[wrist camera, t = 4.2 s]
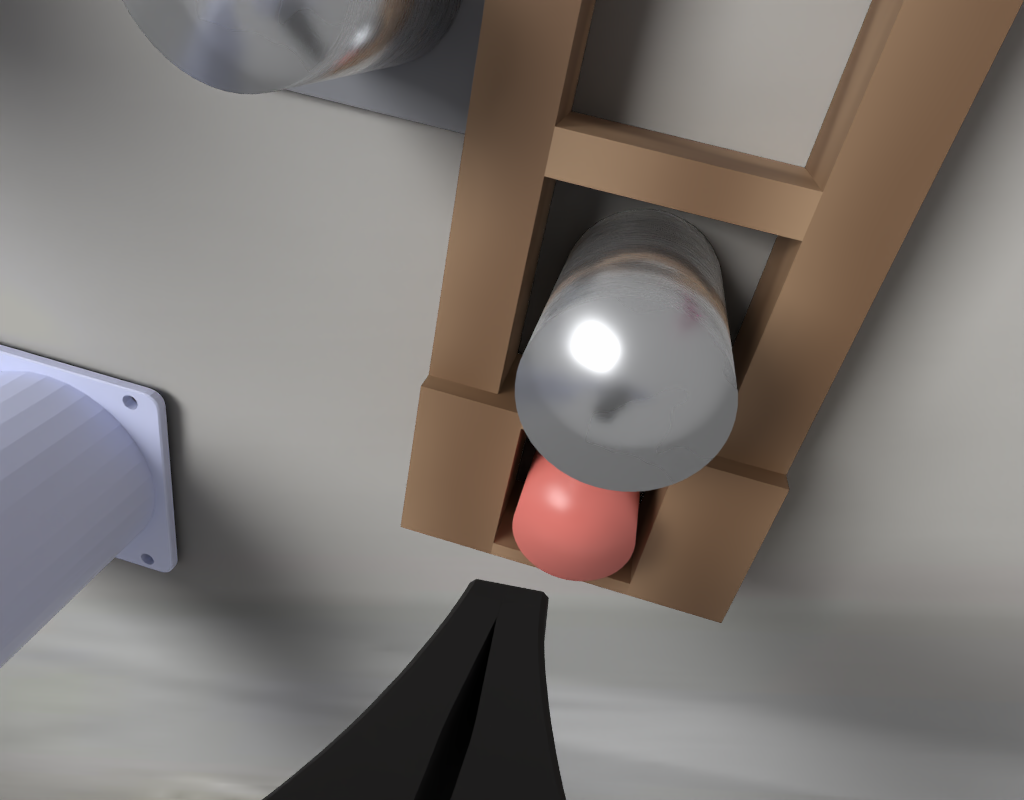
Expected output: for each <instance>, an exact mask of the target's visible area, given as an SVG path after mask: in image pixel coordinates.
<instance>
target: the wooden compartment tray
mask: <svg viewBox="0 0 1024 800" xmlns="http://www.w3.org/2000/svg"><path fill="white" fill-rule="evenodd" d="M1023 1H1024V0H872V2H871V5H870V7H869V9H868V12H867V14H866V17H865V19H864V22H863V24H862V27H861V29H860V32H859V34H858V37H857V39H856V42H855V44H854V47H853V49H852V52H851V54H850V57H849V59H848V62H847V64H846V67H845V69H844V72H843V74H842V77H841V79H840V82H839V84H838V87H837V89H836V92H835V94H834V97H833V99H832V102H831V104H830V107H829V109H828V112H827V114H826V116H825V119H824V121H823V124H822V126H821V129H820V131H819V134H818V136H817V139H816V141H815V144H814V146H813V149H812V151H811V154H810V156H809V159H808V161H807V164H806V166H805V168H803V167H799V166H795V165H791V164H787V163H783V162H779V161H775V160H771V159H766V158H762V157H758V156H754V155H750V154H746V153H742V152H738V151H733V150H729V149H725V148H721V147H717V146H713V145H709V144H705V143H700V142H696V141H692V140H688V139H684V138H680V137H676V136H672V135H668V134H663V133H659V132H655V131H651V130H647V129H643V128H639V127H635V126H630V125H626V124H622V123H618V122H614V121H610V120H606V119H602V118H598V117H593V116H589V115H585V114H581V113H577V112H573V111H571V110H572V105H573V101H574V96H575V92H576V87H577V83H578V78H579V74H580V69H581V65H582V60H583V56H584V51H585V47H586V42H587V38H588V33H589V29H590V24H591V20H592V15H593V11H594V6H595V2H596V0H485V4H484V11H483V17H482V24H481V30H480V37H479V44H478V50H477V57H476V64H475V70H474V77H473V84H472V90H471V97H470V104H469V110H468V117H467V124H466V130H465V137H464V144H463V150H462V157H461V164H460V170H459V177H458V184H457V190H456V197H455V204H454V210H453V217H452V224H451V230H450V237H449V244H448V250H447V257H446V264H445V270H444V277H443V284H442V290H441V297H440V304H439V310H438V317H437V324H436V330H435V337H434V344H433V350H432V357H431V364H430V370H429V375H428V377H427V378H426V380H425V381H424V383H423V384H422V385H421V390H420V397H419V404H418V411H417V418H416V425H415V432H414V439H413V446H412V452H411V459H410V466H409V473H408V480H407V487H406V494H405V501H404V508H403V515H402V521H401V527H403V528H406V529H410V530H413V531H416V532H420V533H423V534H426V535H430V536H433V537H436V538H440V539H443V540H446V541H450V542H453V543H456V544H460V545H463V546H466V547H470V548H473V549H476V550H480V551H483V552H486V553H490V554H493V555H496V556H500V557H503V558H506V559H510V560H513V561H516V562H520V563H523V564H526V565H530V566H533V567H536V566H535V565H534V564H532V563H531V562H530V561H529V560H528V559H527V558H526V557H525V556H524V555H523V553H522V552H521V551H520V549H519V547H518V545H517V543H516V541H515V538H514V535H513V517H514V514H515V511H516V508H517V505H518V502H519V499H520V496H521V493H522V490H523V487H524V484H525V482H524V481H520V480H517V479H516V477H517V473H518V469H519V465H520V461H521V457H522V453H523V449H524V445H525V441H526V437H527V435H526V433H525V431H524V429H523V426H522V424H521V422H520V419H519V416H518V412H517V408H516V401H515V380H516V374H517V370H518V366H519V363H520V360H521V358H522V356H523V355H522V354H518V348H519V344H520V339H521V335H522V330H523V326H524V321H525V317H526V312H527V308H528V303H529V299H530V294H531V290H532V285H533V281H534V276H535V272H536V267H537V263H538V258H539V254H540V249H541V245H542V240H543V236H544V231H545V227H546V222H547V218H548V213H549V209H550V204H551V200H552V195H553V191H554V186H555V182H556V179H557V180H561V181H565V182H569V183H573V184H577V185H581V186H585V187H589V188H593V189H597V190H601V191H605V192H609V193H613V194H617V195H621V196H625V197H629V198H633V199H636V200H640V201H644V202H648V203H652V204H656V205H660V206H664V207H668V208H672V209H676V210H680V211H684V212H688V213H692V214H696V215H700V216H704V217H708V218H712V219H716V220H720V221H724V222H728V223H732V224H736V225H740V226H744V227H748V228H752V229H756V230H760V231H764V232H768V233H772V234H776V235H778V236H777V238H776V241H775V243H774V246H773V248H772V251H771V253H770V256H769V258H768V261H767V263H766V266H765V268H764V271H763V273H762V276H761V278H760V281H759V283H758V286H757V288H756V291H755V293H754V296H753V298H752V301H751V303H750V306H749V308H748V311H747V313H746V316H745V318H744V321H743V323H742V325H741V328H740V330H739V333H738V335H737V338H736V340H735V343H734V345H733V348H732V354H733V361H734V368H735V375H736V383H737V390H738V408H737V413H736V419H735V422H734V425H733V428H732V431H731V433H730V435H729V437H728V439H727V441H726V443H725V444H724V446H723V447H722V448H721V450H720V451H719V452H718V454H717V455H716V456H715V457H714V458H713V459H712V460H711V461H710V462H709V463H708V464H707V465H706V466H704V467H703V468H702V469H701V470H699V471H698V472H696V473H695V474H693V475H691V476H690V477H688V478H686V479H684V480H682V481H680V482H678V483H675V484H673V485H669V486H666V487H663V488H659V489H654V490H649V491H645V493H644V496H643V499H642V501H641V504H640V507H639V510H638V519H637V530H636V541H635V547H634V551H633V553H632V555H631V557H630V559H629V560H628V562H627V563H626V564H625V565H624V566H623V567H622V568H621V569H620V570H618V571H617V572H615V573H613V574H612V575H610V576H607V577H605V578H601V579H598V580H592V581H583V582H586V583H589V584H593V585H596V586H599V587H603V588H606V589H609V590H613V591H616V592H619V593H623V594H626V595H629V596H633V597H636V598H639V599H643V600H646V601H649V602H653V603H656V604H659V605H663V606H666V607H669V608H673V609H676V610H679V611H683V612H686V613H689V614H693V615H696V616H699V617H703V618H706V619H709V620H713V621H716V622H719V623H722V621H723V619H724V617H725V615H726V613H727V611H728V609H729V607H730V605H731V603H732V601H733V599H734V597H735V595H736V593H737V591H738V590H739V588H740V586H741V584H742V582H743V580H744V578H745V576H746V574H747V572H748V570H749V568H750V566H751V564H752V562H753V560H754V558H755V556H756V554H757V552H758V550H759V548H760V546H761V544H762V543H763V541H764V539H765V537H766V535H767V533H768V531H769V529H770V527H771V525H772V523H773V521H774V519H775V517H776V515H777V513H778V511H779V509H780V507H781V505H782V503H783V501H784V499H785V497H786V496H787V494H788V492H789V486H788V481H787V477H786V474H787V472H788V470H789V468H790V466H791V464H792V462H793V460H794V458H795V456H796V454H797V452H798V450H799V448H800V447H801V445H802V443H803V441H804V439H805V437H806V435H807V433H808V431H809V429H810V427H811V425H812V423H813V421H814V419H815V417H816V415H817V413H818V411H819V409H820V407H821V405H822V403H823V401H824V399H825V397H826V395H827V393H828V391H829V389H830V387H831V385H832V383H833V381H834V379H835V377H836V375H837V373H838V371H839V369H840V367H841V365H842V363H843V361H844V359H845V357H846V355H847V353H848V351H849V349H850V347H851V345H852V343H853V341H854V339H855V337H856V335H857V333H858V331H859V329H860V327H861V325H862V323H863V321H864V319H865V317H866V315H867V313H868V311H869V309H870V307H871V305H872V303H873V301H874V299H875V297H876V295H877V293H878V291H879V289H880V287H881V285H882V283H883V281H884V279H885V277H886V275H887V273H888V271H889V269H890V267H891V265H892V263H893V261H894V259H895V257H896V255H897V253H898V251H899V249H900V247H901V245H902V243H903V241H904V239H905V237H906V235H907V233H908V231H909V229H910V227H911V225H912V223H913V221H914V219H915V217H916V215H917V213H918V211H919V209H920V207H921V205H922V203H923V201H924V199H925V197H926V195H927V193H928V191H929V189H930V187H931V185H932V183H933V181H934V179H935V177H936V175H937V173H938V171H939V169H940V167H941V165H942V163H943V161H944V159H945V157H946V155H947V153H948V151H949V149H950V147H951V145H952V143H953V141H954V139H955V137H956V135H957V133H958V131H959V129H960V127H961V125H962V123H963V121H964V119H965V117H966V115H967V113H968V111H969V109H970V107H971V105H972V103H973V101H974V99H975V97H976V95H977V93H978V91H979V89H980V87H981V85H982V83H983V81H984V79H985V77H986V75H987V73H988V71H989V69H990V67H991V65H992V63H993V61H994V59H995V57H996V55H997V53H998V51H999V49H1000V47H1001V45H1002V43H1003V41H1004V39H1005V37H1006V35H1007V33H1008V31H1009V29H1010V27H1011V25H1012V23H1013V21H1014V19H1015V17H1016V15H1017V13H1018V11H1019V9H1020V7H1021V5H1022V3H1023ZM536 568H538V567H536Z"/></svg>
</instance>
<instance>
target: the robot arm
mask: <svg viewBox="0 0 1024 800" xmlns="http://www.w3.org/2000/svg"><path fill="white" fill-rule="evenodd" d="M132 397H133V398H134V399H135V400H136V401H137V402H135V401H134V400H133V398H132ZM115 557H116V558H119V559H122V560H125V561H128V562H132V563H135V564H138V565H141V566H144V567H147V568H151V569H154V570H157V571H160V572H170V571H171V570H172V569H173V568H174V567H175V566H176V565H177V562H178V558H177V545H176V533H175V520H174V507H173V494H172V481H171V469H170V456H169V443H168V430H167V418H166V405H165V402H164V399H163V398H162V396H161V395H160V394H159V393H158V392H157V391H155V390H153V389H150V388H147V387H144V386H140V385H137V384H133V383H130V382H127V381H123V380H120V379H116V378H113V377H109V376H106V375H103V374H99V373H96V372H92V371H89V370H85V369H82V368H79V367H75V366H72V365H68V364H65V363H62V362H58V361H55V360H51V359H48V358H44V357H41V356H38V355H34V354H31V353H27V352H24V351H20V350H17V349H14V348H10V347H7V346H3V345H0V668H1V667H2V666H3V665H4V664H5V663H6V662H7V661H8V660H9V659H10V658H12V657H13V656H14V655H15V654H16V653H17V652H18V651H19V650H20V649H21V648H22V647H23V646H24V645H25V644H26V643H27V642H28V641H29V640H30V639H31V638H32V637H33V636H34V635H35V634H36V633H37V632H38V631H39V630H40V629H41V628H42V627H43V626H45V625H46V624H47V623H48V622H49V621H50V620H51V619H52V618H53V617H54V616H55V615H56V614H57V613H58V612H59V611H60V610H61V609H62V608H63V607H64V606H65V605H66V604H67V603H68V602H69V601H70V600H71V599H72V598H73V597H74V596H75V595H76V594H78V593H79V592H80V591H81V590H82V589H83V588H84V587H85V586H86V585H87V584H88V583H89V582H90V581H91V580H92V579H93V578H94V577H95V576H96V575H97V574H98V573H99V572H100V571H101V570H102V569H103V568H104V567H105V566H106V565H107V564H108V563H110V562H111V561H112V560H113V559H114V558H115ZM548 599H549V598H548V597H547V596H546V594H545V593H544V592H541V591H536V590H531V589H526V588H521V587H515V586H510V585H505V584H500V583H494V582H489V581H484V580H479V579H476V580H474V581H472V582H470V584H469V585H468V587H467V588H466V590H465V592H464V593H463V595H462V596H461V598H460V599H459V601H458V602H457V603H456V605H455V606H454V608H453V609H452V610H451V612H450V613H449V615H448V616H447V617H446V619H445V620H444V621H443V623H442V624H441V625H440V626H439V628H438V629H437V630H436V632H435V633H434V634H433V635H432V637H431V638H430V639H429V640H428V641H427V643H426V644H425V645H424V646H423V647H422V649H421V650H420V651H419V652H418V653H417V655H416V656H415V657H414V658H413V659H412V661H411V662H410V663H409V664H408V665H407V667H406V668H405V669H404V670H403V671H402V672H401V673H400V674H399V675H398V676H397V678H396V679H395V680H394V681H393V682H392V683H391V684H390V685H389V686H388V687H387V688H386V689H385V690H384V691H383V692H382V694H381V695H380V696H379V697H378V698H377V699H376V700H375V701H374V702H373V703H372V704H371V705H370V706H369V707H368V708H367V709H366V710H365V711H364V712H363V713H362V714H361V715H360V716H359V717H358V718H357V719H356V720H355V721H354V722H353V723H352V724H351V725H350V726H349V727H348V728H347V729H346V730H345V731H343V732H342V733H341V734H340V735H339V736H338V737H337V738H336V739H335V740H334V741H333V742H331V743H330V744H329V745H328V746H327V747H326V748H325V749H324V750H323V751H321V752H320V753H319V754H318V755H317V756H315V757H314V758H313V759H312V760H311V761H310V762H308V763H307V764H306V765H305V766H304V767H302V768H301V769H300V770H299V771H298V772H296V773H295V774H294V775H293V776H292V777H291V778H289V779H288V780H287V781H286V782H284V783H283V784H282V785H281V786H279V787H278V788H277V789H275V790H274V791H273V792H272V793H270V794H269V795H268V796H266V797H265V798H264V799H262V800H566V798H565V794H564V789H563V785H562V780H561V775H560V771H559V766H558V760H557V755H556V749H555V743H554V737H553V731H552V725H551V718H550V711H549V703H548V693H547V684H546V674H545V658H544V638H545V628H546V619H547V609H548Z"/></svg>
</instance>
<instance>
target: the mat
mask: <svg viewBox="0 0 1024 800" xmlns="http://www.w3.org/2000/svg"><path fill="white" fill-rule="evenodd" d="M484 4H485V0H462V1H461V4H460V8H459V11H458V13H457V15H456V17H455V20H454V22H453V24H452V25H451V27H450V29H449V30H448V32H447V34H446V35H445V36H444V37H443V38H442V40H441V41H440V42H439V43H438V44H437V45H436V46H435V47H434V48H433V49H432V50H431V51H429V52H428V53H426V54H425V55H423V56H422V57H420V58H418V59H416V60H414V61H412V62H408V63H405V64H402V65H397V66H393V67H388V68H383V69H378V70H374V71H369V72H364V73H359V74H354V75H350V76H345V77H340V78H335V79H331V80H326V81H321V82H316V83H312V84H307V85H302V86H297V87H292V88H288V89H286V90H290V91H294V92H298V93H302V94H306V95H310V96H314V97H318V98H322V99H326V100H330V101H334V102H338V103H342V104H346V105H350V106H354V107H358V108H362V109H366V110H370V111H374V112H378V113H382V114H386V115H390V116H394V117H398V118H402V119H406V120H410V121H414V122H418V123H422V124H426V125H430V126H434V127H438V128H443V129H447V130H451V131H455V132H459V133H463V134H465V130H466V124H467V117H468V110H469V104H470V97H471V90H472V84H473V77H474V70H475V64H476V57H477V50H478V44H479V37H480V30H481V24H482V17H483V11H484Z"/></svg>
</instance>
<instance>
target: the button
mask: <svg viewBox="0 0 1024 800" xmlns="http://www.w3.org/2000/svg"><path fill="white" fill-rule="evenodd" d="M639 497H640V491H638V492H621V491H613V490H607V489H602V488H598V487H594V486H591V485H588V484H585V483H583V482H580V481H578V480H576V479H574V478H572V477H570V476H568V475H567V474H565V473H563V472H562V471H560V470H559V469H557V468H556V467H555V466H553V465H552V464H551V463H550V462H548V461H547V460H546V459H545V458H544V457H543V456H542V455H541V454H540V453H539V452H538V450H537V449H536V451H535V454H534V457H533V460H532V463H531V466H530V469H529V472H528V475H527V478H526V481H525V484H524V487H523V490H522V493H521V496H520V499H519V502H518V505H517V508H516V511H515V514H514V517H513V535H514V538H515V541H516V543H517V545H518V547H519V549H520V551H521V552H522V553H523V555H524V556H525V557H526V558H527V559H528V560H529V561H530V562H531V563H532V564H534V565H535V566H536V567H538V568H539V569H541V570H542V571H544V572H546V573H548V574H550V575H553V576H555V577H558V578H562V579H566V580H572V581H592V580H598V579H601V578H605V577H607V576H610V575H612V574H613V573H615V572H617V571H618V570H620V569H621V568H622V567H623V566H624V565H625V564H626V563H627V562H628V560H629V559H630V557H631V555H632V553H633V551H634V547H635V541H636V530H637V519H638V508H639Z"/></svg>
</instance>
